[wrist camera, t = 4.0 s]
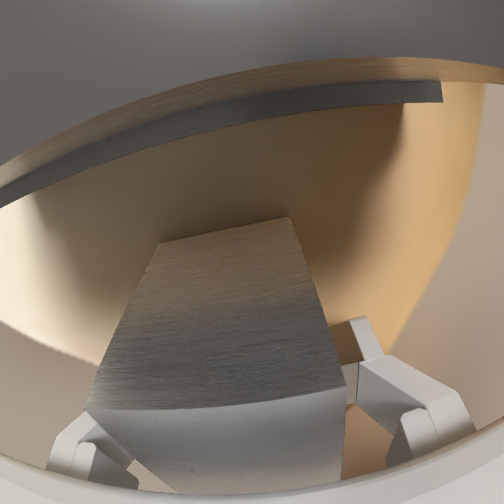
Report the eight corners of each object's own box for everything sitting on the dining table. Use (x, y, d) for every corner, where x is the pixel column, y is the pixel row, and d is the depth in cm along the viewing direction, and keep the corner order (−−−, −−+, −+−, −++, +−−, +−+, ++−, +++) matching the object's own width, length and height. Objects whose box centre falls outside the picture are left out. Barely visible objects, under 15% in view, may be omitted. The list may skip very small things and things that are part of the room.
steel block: (289, 216, 9) (346, 385, 4) (310, 356, 12) (338, 496, 6) (159, 243, 9) (82, 407, 4) (213, 372, 12) (202, 508, 7)
